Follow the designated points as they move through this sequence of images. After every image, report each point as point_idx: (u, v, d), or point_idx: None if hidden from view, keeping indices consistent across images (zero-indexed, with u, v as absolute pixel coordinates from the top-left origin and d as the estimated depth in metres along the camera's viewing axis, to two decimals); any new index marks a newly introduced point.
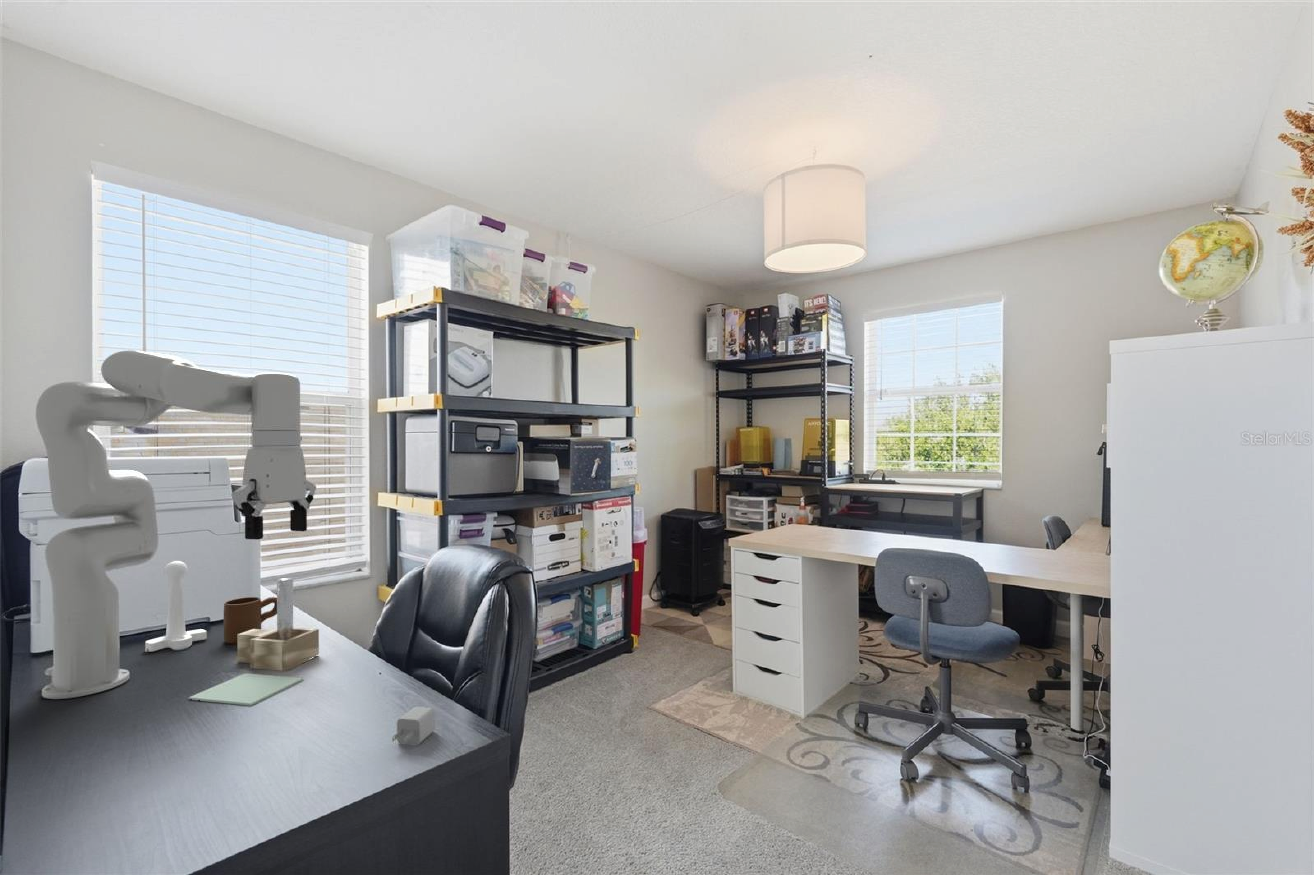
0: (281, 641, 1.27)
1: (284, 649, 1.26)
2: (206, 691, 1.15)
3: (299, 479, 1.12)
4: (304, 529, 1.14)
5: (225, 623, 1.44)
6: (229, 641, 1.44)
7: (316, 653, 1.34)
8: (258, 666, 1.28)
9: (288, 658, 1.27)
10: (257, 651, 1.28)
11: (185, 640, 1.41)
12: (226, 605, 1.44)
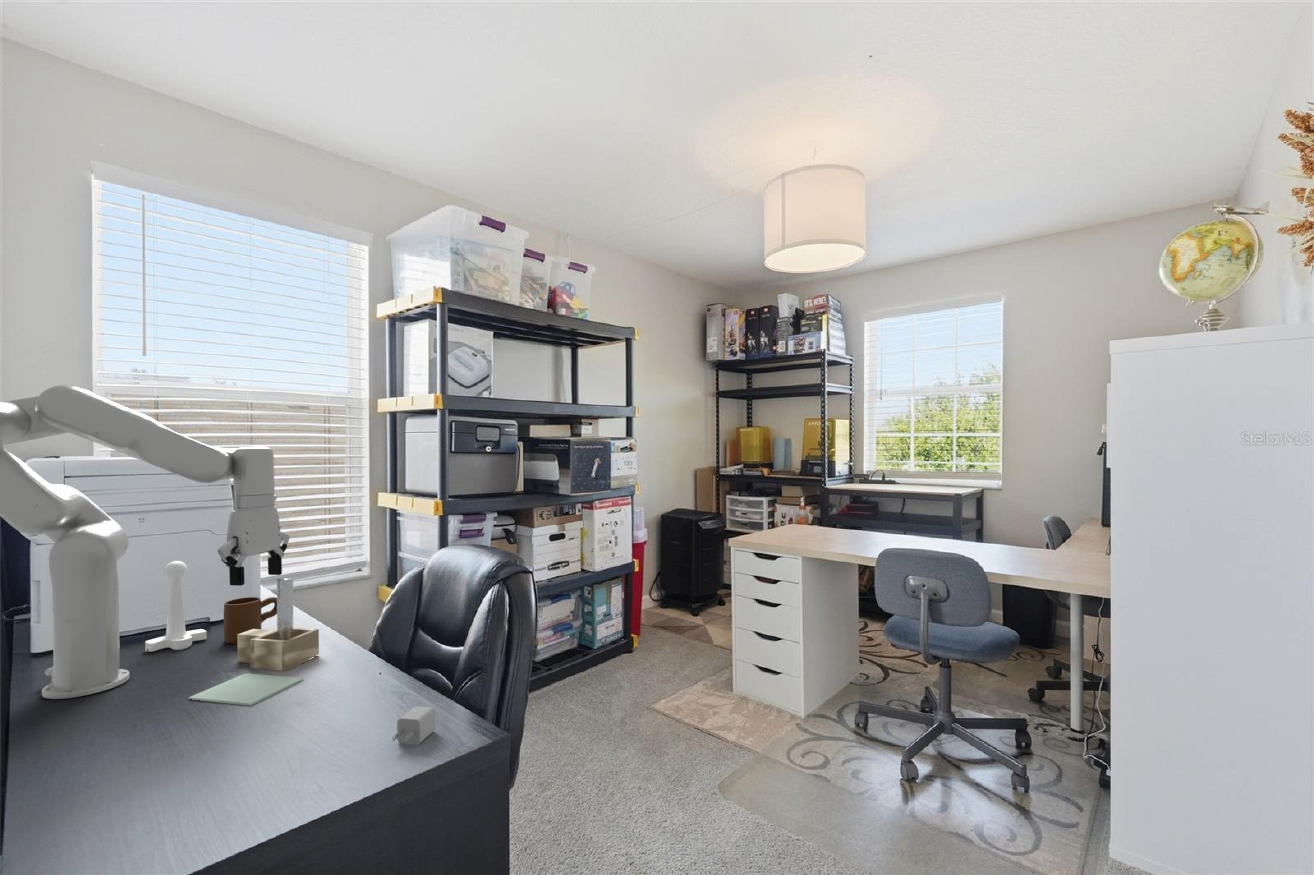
0: (281, 641, 1.27)
1: (284, 649, 1.26)
2: (206, 691, 1.15)
3: (274, 533, 1.36)
4: (279, 573, 1.38)
5: (225, 623, 1.44)
6: (229, 641, 1.44)
7: (316, 653, 1.34)
8: (258, 666, 1.28)
9: (288, 658, 1.27)
10: (257, 651, 1.28)
11: (185, 640, 1.41)
12: (226, 605, 1.44)
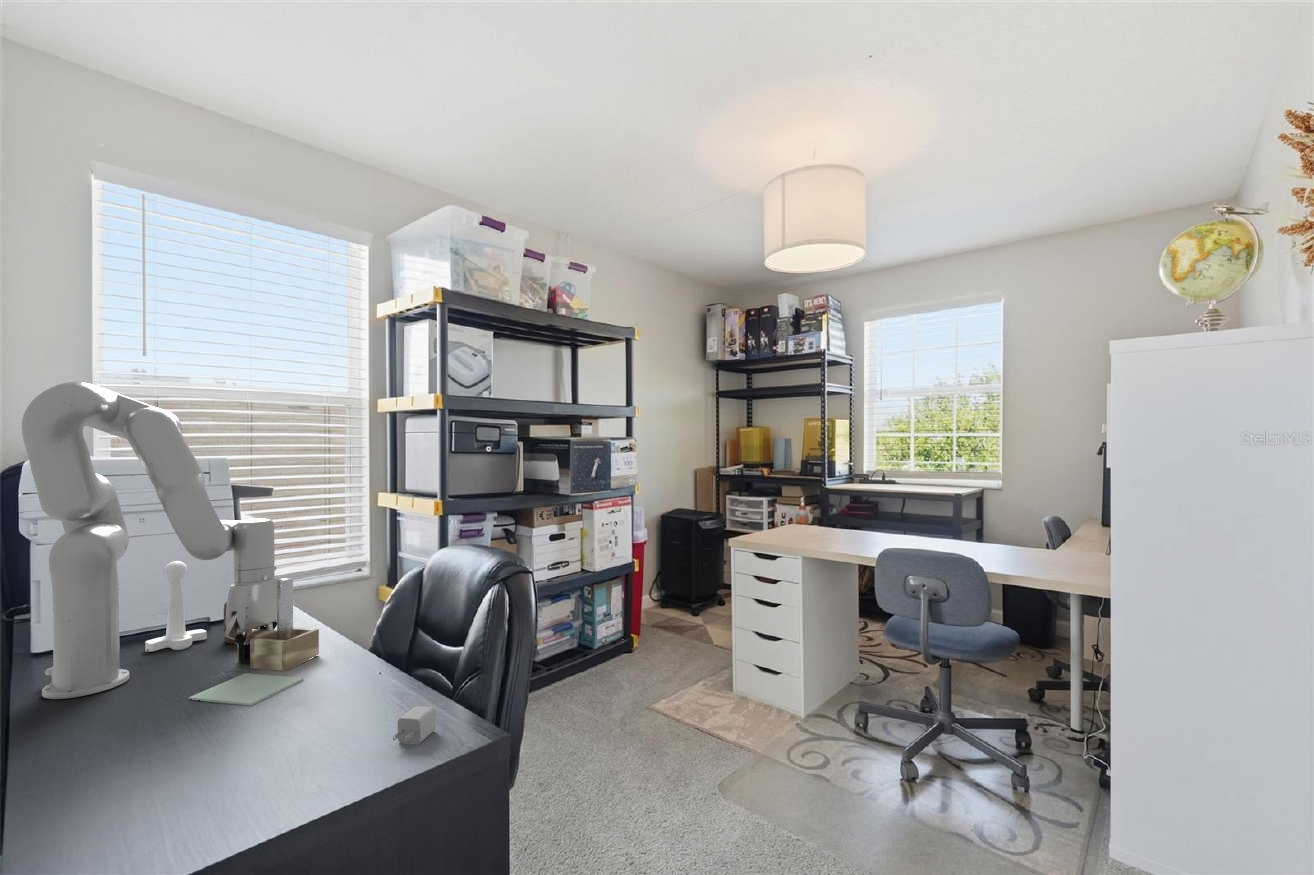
0: (281, 641, 1.27)
1: (284, 649, 1.26)
2: (206, 691, 1.15)
3: (273, 604, 1.35)
4: None
5: (225, 623, 1.44)
6: (229, 641, 1.44)
7: (316, 653, 1.34)
8: (258, 666, 1.28)
9: (288, 658, 1.27)
10: (257, 651, 1.28)
11: (185, 640, 1.41)
12: (226, 605, 1.44)
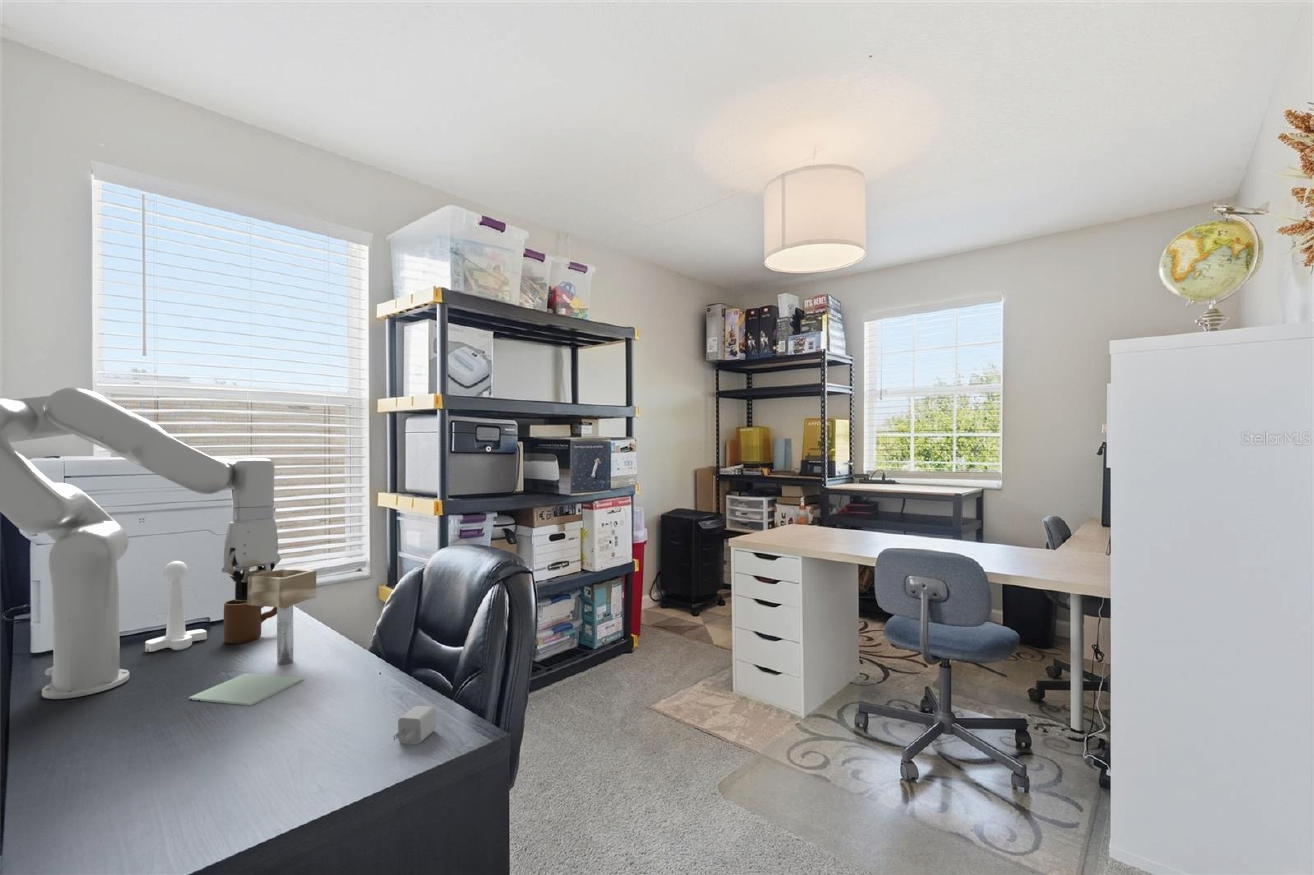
0: (279, 578, 1.27)
1: (282, 586, 1.26)
2: (206, 691, 1.15)
3: (272, 545, 1.35)
4: None
5: (225, 623, 1.44)
6: (229, 641, 1.44)
7: (313, 594, 1.34)
8: (255, 603, 1.27)
9: (285, 595, 1.27)
10: (254, 588, 1.28)
11: (185, 640, 1.41)
12: (226, 605, 1.44)
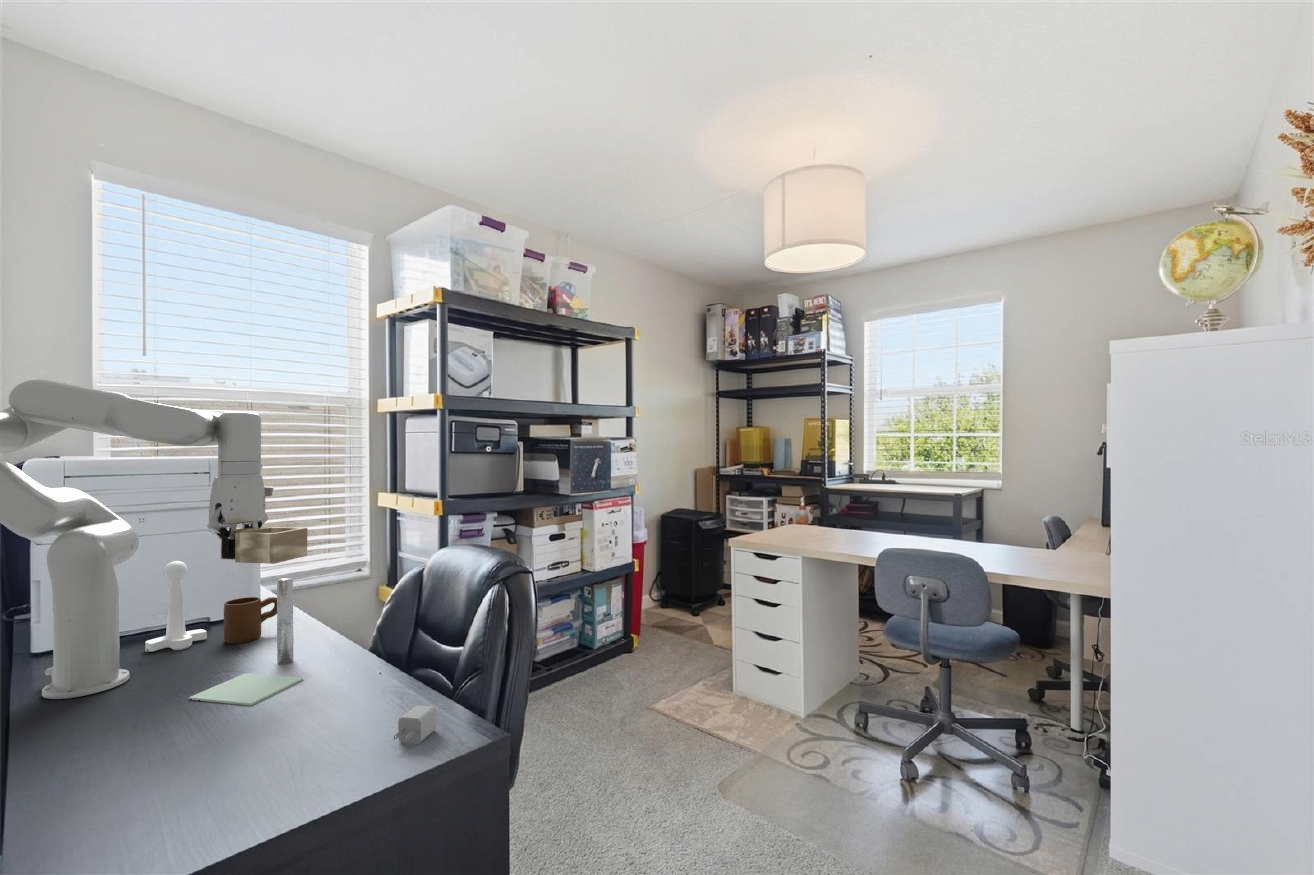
0: (269, 533, 1.22)
1: (272, 541, 1.21)
2: (206, 691, 1.15)
3: (259, 502, 1.30)
4: None
5: (225, 623, 1.44)
6: (229, 641, 1.44)
7: (304, 552, 1.29)
8: (244, 560, 1.22)
9: (276, 550, 1.22)
10: (243, 544, 1.22)
11: (185, 640, 1.41)
12: (226, 605, 1.44)
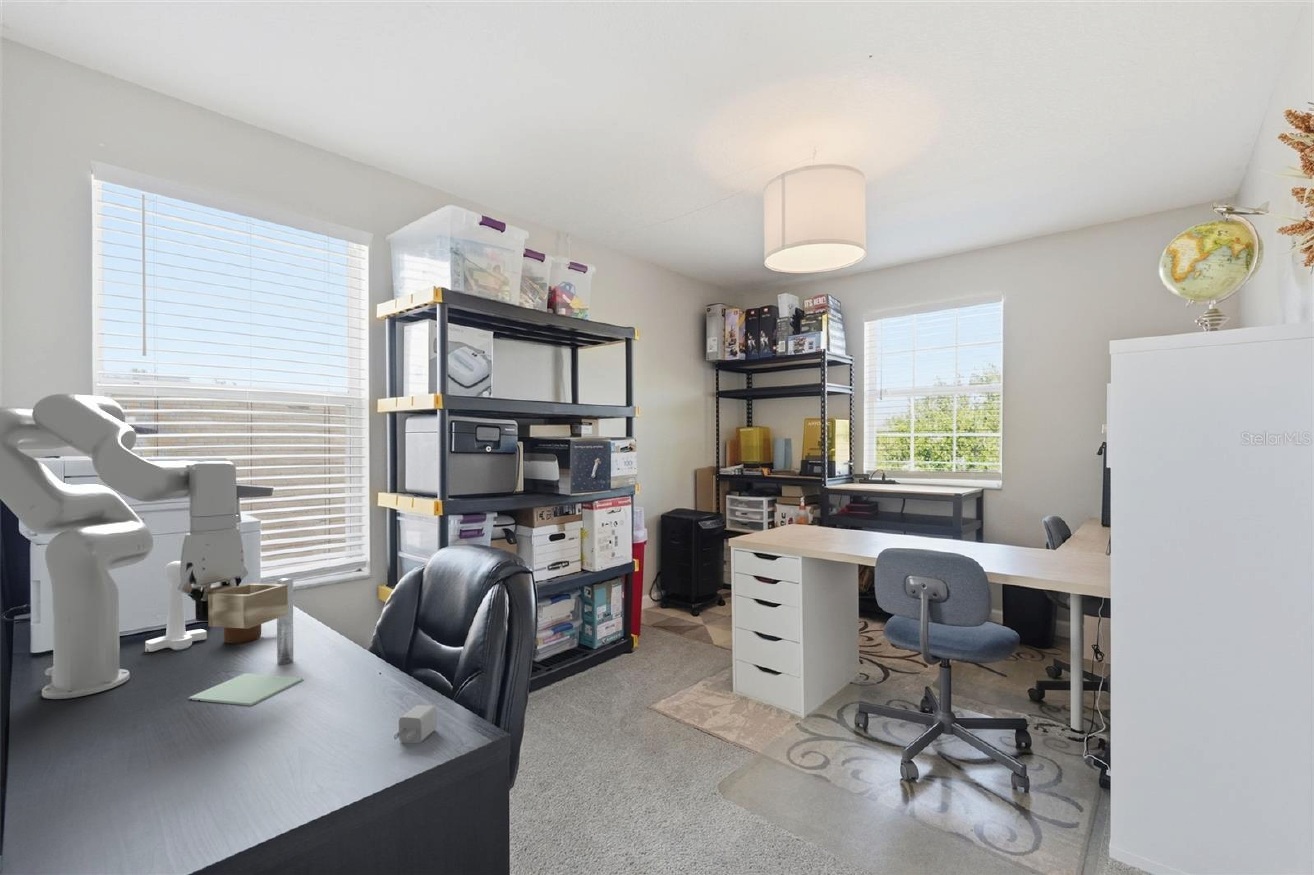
0: (243, 595, 1.12)
1: (246, 604, 1.12)
2: (206, 691, 1.15)
3: (236, 558, 1.21)
4: None
5: None
6: (229, 641, 1.44)
7: (284, 611, 1.20)
8: (217, 624, 1.13)
9: (250, 614, 1.12)
10: (216, 607, 1.13)
11: (185, 640, 1.41)
12: None
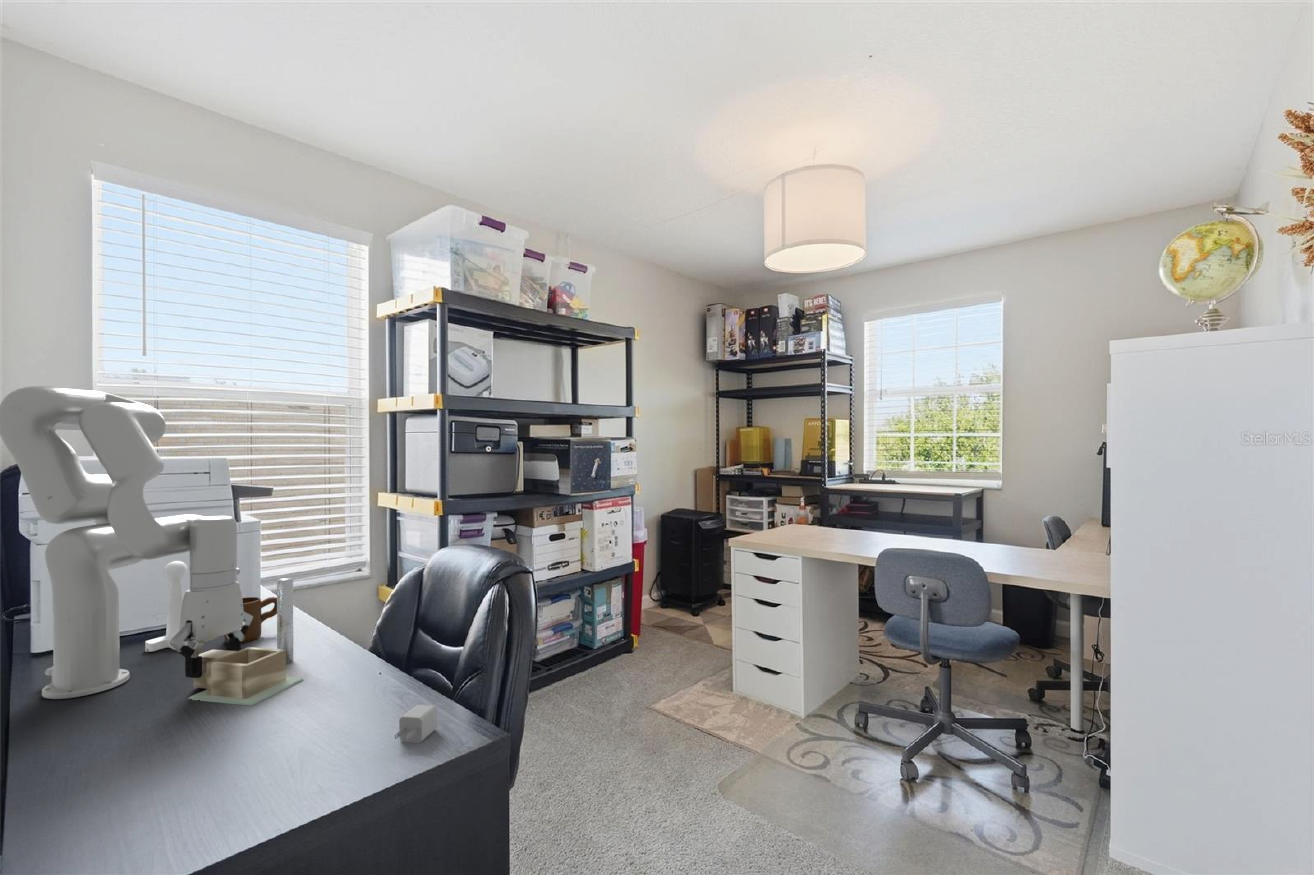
0: (241, 665, 1.12)
1: (244, 674, 1.12)
2: (206, 691, 1.15)
3: (236, 612, 1.21)
4: None
5: None
6: None
7: (283, 677, 1.20)
8: (215, 693, 1.13)
9: (249, 684, 1.12)
10: (214, 676, 1.13)
11: None
12: None
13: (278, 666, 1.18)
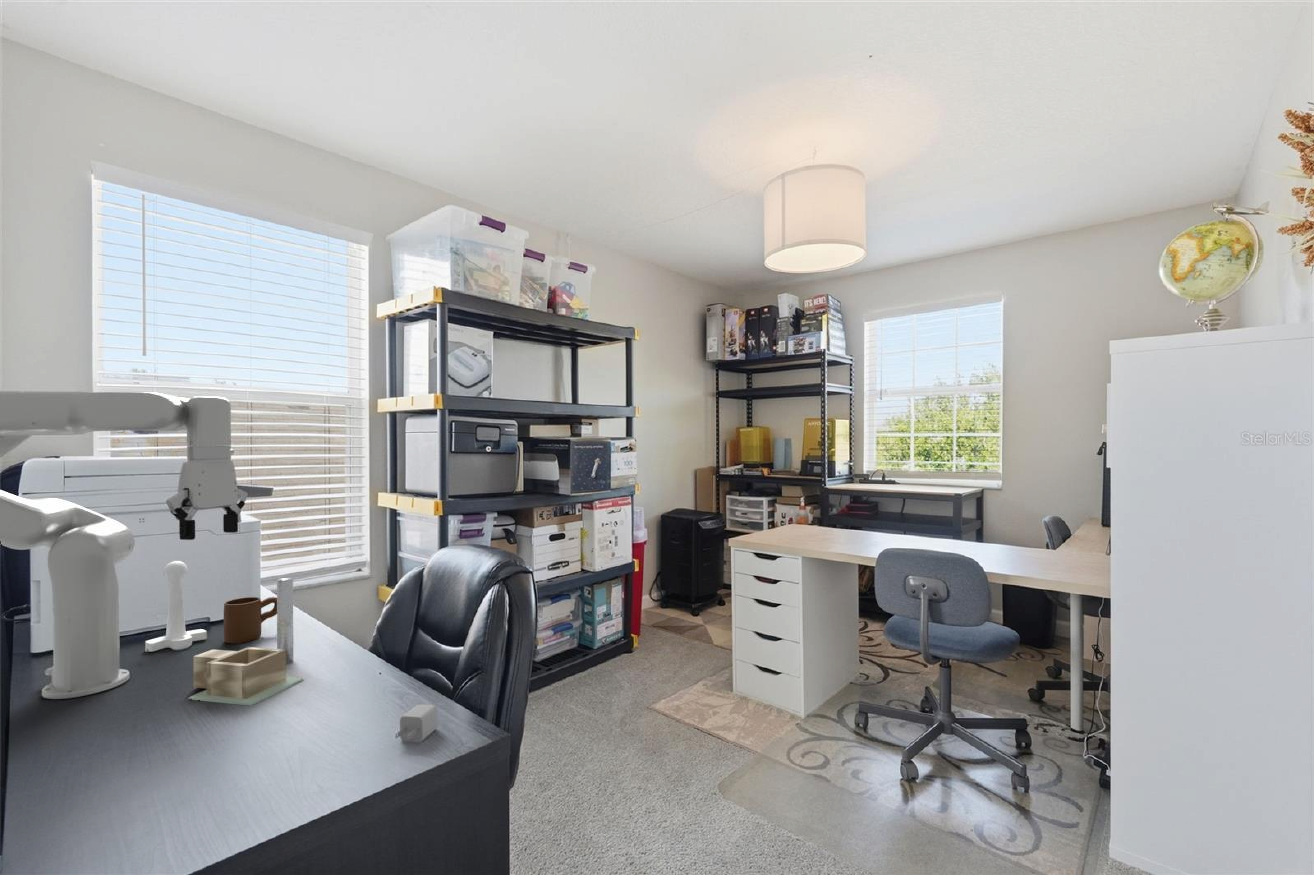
0: (241, 665, 1.12)
1: (244, 674, 1.12)
2: (206, 691, 1.15)
3: (230, 487, 1.30)
4: (235, 530, 1.32)
5: (225, 623, 1.44)
6: (229, 641, 1.44)
7: (283, 677, 1.20)
8: (215, 693, 1.13)
9: (249, 684, 1.12)
10: (214, 676, 1.13)
11: (185, 640, 1.41)
12: (226, 605, 1.44)
13: (278, 666, 1.18)
